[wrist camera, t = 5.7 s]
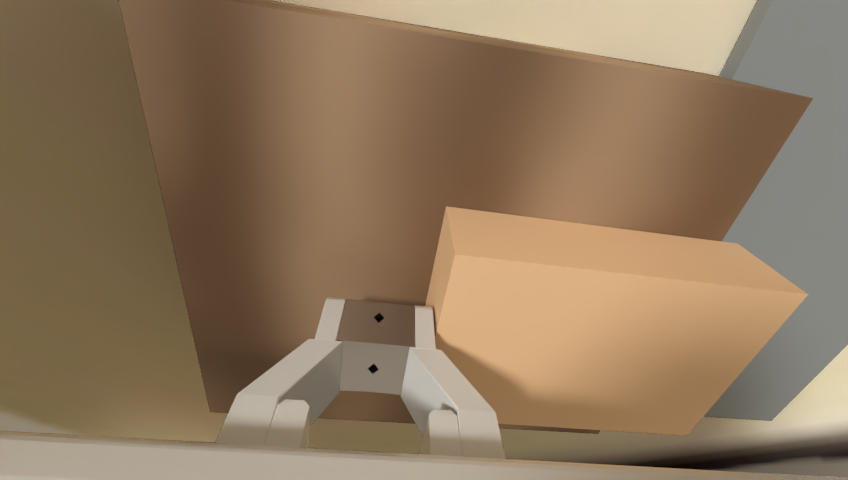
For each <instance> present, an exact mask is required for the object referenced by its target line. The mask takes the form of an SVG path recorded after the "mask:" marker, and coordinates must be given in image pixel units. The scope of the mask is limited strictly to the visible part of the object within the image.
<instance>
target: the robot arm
mask: <svg viewBox="0 0 848 480" xmlns="http://www.w3.org/2000/svg"><path fill="white" fill-rule="evenodd" d="M339 390H340V391H363V392H377V393H387V394H397V395H401V398H402V400H403V402H404V403H405V405H406V407H407V409H408V411H409V412H410V414H411V416H412V418H413V419H414V421H415V423H416V425H417V427H418V428H419V430H420V432H421V434H422V435H423V439H422V443H421V447H420V450H419V454H408V453H390V452H373V451H355V450H337V449H319V448H309V427H310V426H311V425H312V424H313V422H314V421H315V420H316V419H317V418H318V417H319V415H320V414H321V413H322V412H323V411H324V410H325V408H326V407H327V406H328V405H329V404H330V403H331V401H332V400H333V399H334V398H335V397H336V396H337V394H338V393H339ZM0 480H848V478H843V477H825V476H806V475H787V474H767V473H750V472H732V471H714V470H696V469H678V468H660V467H643V466H625V465H607V464H589V463H571V462H553V461H536V460H518V459H505V454H504V449H503V444H502V440H501V435H500V430H499V426H498V421H497V416H496V412H495V411H494V410H493V409H492V408H491V406H490V405H489V404H488V403H487V402H486V401H485V400H484V398H483V397H482V396H481V395H480V394H479V393H478V391H477V390H476V389H475V388H474V387H473V386H472V385H471V383H470V382H469V381H468V380H467V379H466V378H465V377H464V375H463V374H462V373H461V372H460V371H459V370H458V368H457V367H456V366H455V365H454V364H453V363H452V362H451V360H450V359H449V358H448V357H447V356H446V355H445V353H444V352H443V351H442V350H437V349H436V341H435V328H434V316H433V308H432V307H429V306H416V305H414V306H412V305H401V304H390V303H379V302H371V301H363V300H354V299H344V298H335V297H327V299H326V301H325V304H324V308H323V311H322V315H321V318H320V322H319V325H318V329H317V332H316V336H315V339H308V340H307V341H305V342H304V343H303V344H301V345H300V346H299V347H298V348H296V349H295V350H294V351H292V352H291V353H290V354H288V355H287V356H286V357H285V358H283V359H282V360H281V361H279V362H278V363H277V364H275V365H274V366H273V367H272V368H270V369H269V370H268V371H266V372H265V373H264V374H262V375H261V376H260V377H259V378H257V379H256V380H255V381H253V382H252V383H251V384H249V385H248V386H247V387H246V388H244V389H243V390H242V391H240V392H239V393H238V394H237V395H236V397H235V400H234V402H233V404H232V406H231V408H230V411H229V413H228V415H227V417H226V419H225V422H224V424H223V426H222V428H221V431H220V433H219V435H218V437H217V439H216V442H215V443H212V442H194V441H176V440H158V439H140V438H122V437H104V436H86V435H68V434H50V433H32V432H14V431H13V432H12V431H0Z"/></svg>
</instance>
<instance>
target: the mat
mask: <svg viewBox="0 0 848 480" xmlns="http://www.w3.org/2000/svg"><path fill="white" fill-rule="evenodd" d="M719 77H723V78H727V79H732V80H736V81H740V82H745V83H749V84H753V85H758V86H762V87H766V88H771V89H775V90H780V91H784V92H788V93H793V94H797V95H801V96H806V97H810V98H813V100H812V101H811V103H810V104H809V106H808V107H807V109H806V111H805V112H804V114H803V115H802V117H801V118H800V120H799V121H798V123H797V125H796V126H795V128H794V129H793V131H792V132H791V134H790V136H789V137H788V139H787V140H786V142H785V143H784V145H783V146H782V148H781V150H780V151H779V153H778V154H777V156H776V157H775V159H774V160H773V162H772V164H771V165H770V167H769V168H768V170H767V171H766V173H765V175H764V176H763V178H762V179H761V181H760V182H759V184H758V185H757V187H756V189H755V190H754V192H753V193H752V195H751V196H750V198H749V199H748V201H747V203H746V204H745V206H744V207H743V209H742V210H741V212H740V213H739V215H738V217H737V218H736V220H735V221H734V223H733V224H732V226H731V228H730V229H729V231H728V232H727V234H726V235H725V237H724V238H723V240H722V242H729V243H737V244H739V245H740V246H742V247H743V248H745V249H746V250H747V251H749V252H750V253H752V254H753V255H754V256H756V257H757V258H758V259H760V260H761V261H763V262H764V263H765V264H767V265H768V266H770V267H771V268H772V269H774V270H775V271H776V272H778V273H779V274H781V275H782V276H783V277H785V278H786V279H787V280H789V281H790V282H792V283H793V284H794V285H796V286H797V287H799V288H800V289H801V290H803V291H804V292H805V293H807V294H808V295H807V297H806V298H805V299H804V300H803V301H802V302H801V304H800V305H799V306H798V307H797V308H796V309H795V311H794V312H793V313H792V314H791V315H790V316H789V318H788V319H787V320H786V321H785V322H784V323H783V325H782V326H781V327H780V328H779V329H778V330H777V331H776V333H775V334H774V335H773V336H772V337H771V338H770V340H769V341H768V342H767V343H766V344H765V345H764V347H763V348H762V349H761V350H760V351H759V352H758V354H757V355H756V356H755V357H754V358H753V359H752V361H751V362H750V363H749V364H748V365H747V366H746V368H745V369H744V370H743V371H742V372H741V373H740V374H739V376H738V377H737V378H736V379H735V380H734V381H733V383H732V384H731V385H730V386H729V387H728V388H727V390H726V391H725V392H724V393H723V394H722V395H721V397H720V398H719V399H718V400H717V401H716V402H715V404H714V405H713V406H712V407H711V408H710V409H709V410H708V412H707V413H706V414H705V415H704V416H703V417H718V418H734V419H750V420H765V421H772V420H773V419H774V418H775V417H776V416H777V415H778V414H779V413H780V412H781V411H782V410H783V409H784V408H785V407H786V406H787V405H788V404H789V403H790V402H791V401H792V400H793V399H794V398H795V397H796V396H797V395H798V394H799V393H800V392H801V391H802V390H803V389H804V388H805V387H806V386H807V385H808V384H809V383H810V382H811V381H812V380H813V379H814V378H815V377H816V376H817V375H818V374H819V373H820V372H821V371H822V370H823V369H824V368H825V367H826V366H827V365H828V364H829V363H830V362H831V361H832V360H833V359H834V358H835V357H836V356H837V355H838V354H839V353H840V352H841V351H842V350H843V349H844V348H845V347H846V346H847V345H848V0H758V1H757V3H756V5H755V7H754V9H753V11H752V13H751V15H750V16H749V18H748V20H747V22H746V24H745V26H744V28H743V30H742V32H741V34H740V36H739V38H738V40H737V42H736V44H735V46H734V48H733V50H732V52H731V54H730V56H729V58H728V60H727V62H726V64H725V66H724V68H723V70H722V72H721V74H720V76H719Z"/></svg>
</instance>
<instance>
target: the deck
mask: <svg viewBox="0 0 848 480" xmlns="http://www.w3.org/2000/svg"><path fill="white" fill-rule="evenodd" d="M119 4H120V9H121V13H122V18H123V22H124V27H125V31H126V36H127V40H128V45H129V49H130V54H131V58H132V63H133V67H134V72H135V76H136V81H137V85H138V90H139V94H140V99H141V103H142V108H143V112H144V117H145V121H146V126H147V130H148V135H149V139H150V144H151V148H152V153H153V157H154V162H155V166H156V171H157V175H158V180H159V184H160V189H161V193H162V198H163V202H164V207H165V211H166V216H167V220H168V225H169V229H170V234H171V238H172V243H173V247H174V252H175V256H176V261H177V265H178V270H179V274H180V279H181V283H182V288H183V292H184V297H185V301H186V306H187V310H188V315H189V319H190V324H191V328H192V333H193V337H194V342H195V346H196V351H197V355H198V360H199V364H200V369H201V373H202V378H203V382H204V387H205V391H206V396H207V400H208V405H209V409H210V412H219V413H229V411H230V408H231V406H232V404H233V402H234V400H235V397H236V395H237V394H238V393H239V392H240V391H242V390H243V389H244V388H246V387H247V386H248V385H249V384H251V383H252V382H253V381H255V380H256V379H257V378H259V377H260V376H261V375H262V374H264V373H265V372H266V371H268V370H269V369H270V368H272V367H273V366H274V365H275V364H277V363H278V362H279V361H281V360H282V359H283V358H285V357H286V356H287V355H288V354H290V353H291V352H292V351H294V350H295V349H296V348H298V347H299V346H300V345H301V344H303V343H304V342H305V341H307V340H308V339H315V336H316V332H317V329H318V325H319V322H320V318H321V315H322V311H323V308H324V304H325V301H326V299H327V297H335V298H344V299H354V300H363V301H371V302H379V303H390V304H401V305H412V306H414V305H416V306H425V304H426V300H427V295H428V290H429V285H430V280H431V276H432V271H433V266H434V261H435V256H436V252H437V247H438V242H439V237H440V233H441V228H442V223H443V218H444V213H445V209H446V206H447V207H455V208H463V209H471V210H478V211H486V212H494V213H502V214H510V215H518V216H525V217H533V218H541V219H549V220H557V221H565V222H572V223H580V224H588V225H596V226H604V227H612V228H619V229H627V230H635V231H643V232H651V233H659V234H666V235H674V236H682V237H690V238H698V239H706V240H713V241H721V242H722V240H723V238H724V237H725V235H726V234H727V232H728V231H729V229H730V228H731V226H732V224H733V223H734V221H735V220H736V218H737V217H738V215H739V213H740V212H741V210H742V209H743V207H744V206H745V204H746V203H747V201H748V199H749V198H750V196H751V195H752V193H753V192H754V190H755V189H756V187H757V185H758V184H759V182H760V181H761V179H762V178H763V176H764V175H765V173H766V171H767V170H768V168H769V167H770V165H771V164H772V162H773V160H774V159H775V157H776V156H777V154H778V153H779V151H780V150H781V148H782V146H783V145H784V143H785V142H786V140H787V139H788V137H789V136H790V134H791V132H792V131H793V129H794V128H795V126H796V125H797V123H798V121H799V120H800V118H801V117H802V115H803V114H804V112H805V111H806V109H807V107H808V106H809V104H810V103H811V101H812V100H813V98H810V97H806V96H801V95H797V94H793V93H788V92H784V91H780V90H775V89H771V88H766V87H762V86H758V85H753V84H749V83H745V82H740V81H736V80H732V79H727V78H723V77H719V76H714V75H710V74H706V73H700V72H694V71H688V70H682V69H676V68H670V67H664V66H658V65H652V64H646V63H640V62H634V61H628V60H622V59H616V58H610V57H604V56H598V55H592V54H586V53H581V52H575V51H569V50H563V49H557V48H551V47H545V46H539V45H533V44H527V43H521V42H515V41H509V40H503V39H497V38H491V37H485V36H479V35H473V34H467V33H461V32H456V31H450V30H444V29H438V28H432V27H426V26H420V25H414V24H408V23H402V22H396V21H390V20H384V19H378V18H372V17H366V16H360V15H354V14H348V13H342V12H336V11H331V10H325V9H319V8H313V7H307V6H301V5H295V4H289V3H283V2H277V1H271V0H119ZM318 418H326V419H344V420H362V421H380V422H398V423H415V421H414V419H413V418H412V416H411V414H410V412H409V411H408V409H407V407H406V405H405V403H404V402H403V400H402V398H401V395H397V394H387V393H377V392H363V391H340V390H339V393H338V394H337V396H336V397H335V398H334V399H333V400H332V401H331V403H330V404H329V405H328V406H327V407H326V408H325V410H324V411H323V412H322V413H321V414H320V415H319V417H318ZM415 424H416V423H415ZM498 426H499V428H505V429H523V430H541V431H558V432H576V433H594V434H598V433H599V432H600V430H589V429H574V428H558V427H542V426H527V425H511V424H498Z"/></svg>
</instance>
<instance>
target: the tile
mask: <svg viewBox="0 0 848 480" xmlns="http://www.w3.org/2000/svg"><path fill="white" fill-rule="evenodd" d="M807 295H808V294H807V293H805V292H804V291H803V290H801V289H800V288H799V287H797V286H796V285H794V284H793V283H792V282H790V281H789V280H787V279H786V278H785V277H783V276H782V275H781V274H779V273H778V272H776V271H775V270H774V269H772V268H771V267H770V266H768V265H767V264H765V263H764V262H763V261H761V260H760V259H758V258H757V257H756V256H754V255H753V254H752V253H750V252H749V251H747V250H746V249H745V248H743V247H742V246H740V245H739V244H737V243H729V242H721V241H713V240H706V239H698V238H690V237H682V236H674V235H666V234H659V233H651V232H643V231H635V230H627V229H619V228H612V227H604V226H596V225H588V224H580V223H572V222H565V221H557V220H549V219H541V218H533V217H525V216H518V215H510V214H502V213H494V212H486V211H478V210H471V209H463V208H455V207H447V206H446V209H445V213H444V218H443V223H442V228H441V233H440V237H439V242H438V247H437V252H436V256H435V261H434V266H433V271H432V276H431V280H430V285H429V290H428V295H427V300H426V304H425V306H429V307H432V308H433V316H434V328H435V341H436V349H437V350H442V351H443V352H444V353H445V355H446V356H447V357H448V358H449V359H450V360H451V362H452V363H453V364H454V365H455V366H456V367H457V368H458V370H459V371H460V372H461V373H462V374H463V375H464V377H465V378H466V379H467V380H468V381H469V382H470V383H471V385H472V386H473V387H474V388H475V389H476V390H477V391H478V393H479V394H480V395H481V396H482V397H483V398H484V400H485V401H486V402H487V403H488V404H489V405H490V406H491V408H492V409H493V410H494V411H495V412H496V416H497V421H498V424H511V425H527V426H542V427H558V428H574V429H589V430H605V431H620V432H636V433H652V434H667V435H683V436H687V435H688V434H689V433H690V431H691V430H692V429H693V428H694V427H695V426H696V424H697V423H698V422H699V421H700V420H701V419H702V417H703V416H704V415H705V414H706V413H707V412H708V410H709V409H710V408H711V407H712V406H713V405H714V404H715V402H716V401H717V400H718V399H719V398H720V397H721V395H722V394H723V393H724V392H725V391H726V390H727V388H728V387H729V386H730V385H731V384H732V383H733V381H734V380H735V379H736V378H737V377H738V376H739V374H740V373H741V372H742V371H743V370H744V369H745V368H746V366H747V365H748V364H749V363H750V362H751V361H752V359H753V358H754V357H755V356H756V355H757V354H758V352H759V351H760V350H761V349H762V348H763V347H764V345H765V344H766V343H767V342H768V341H769V340H770V338H771V337H772V336H773V335H774V334H775V333H776V331H777V330H778V329H779V328H780V327H781V326H782V325H783V323H784V322H785V321H786V320H787V319H788V318H789V316H790V315H791V314H792V313H793V312H794V311H795V309H796V308H797V307H798V306H799V305H800V304H801V302H802V301H803V300H804V299H805V298H806V297H807Z"/></svg>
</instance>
